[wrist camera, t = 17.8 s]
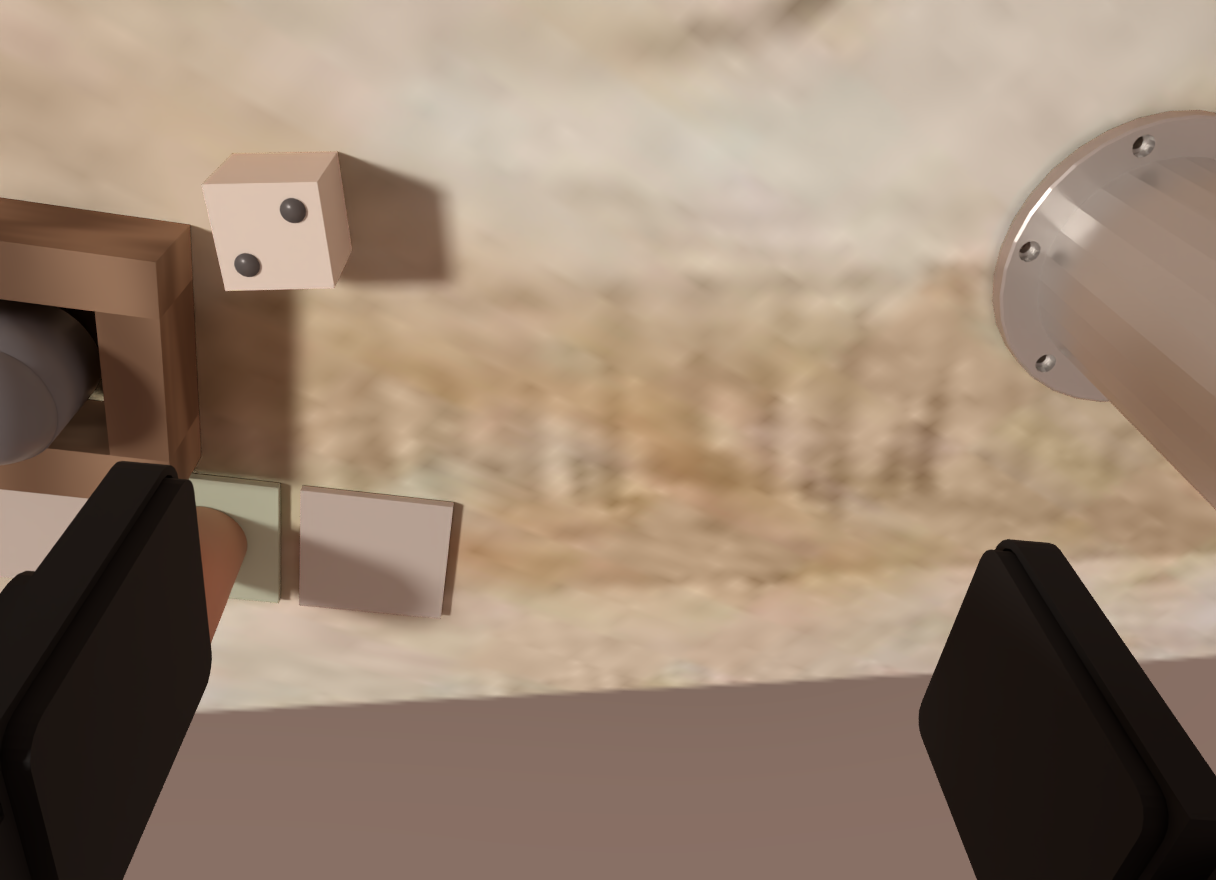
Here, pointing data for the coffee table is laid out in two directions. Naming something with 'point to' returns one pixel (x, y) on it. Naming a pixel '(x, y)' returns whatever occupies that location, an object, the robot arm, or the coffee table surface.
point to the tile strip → (329, 543)
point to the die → (279, 220)
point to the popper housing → (110, 338)
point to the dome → (41, 376)
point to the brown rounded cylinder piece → (219, 559)
